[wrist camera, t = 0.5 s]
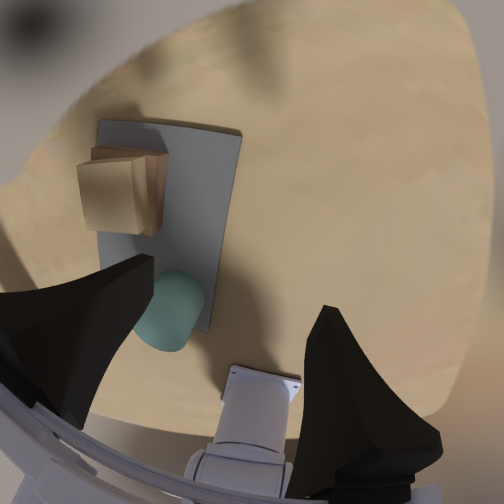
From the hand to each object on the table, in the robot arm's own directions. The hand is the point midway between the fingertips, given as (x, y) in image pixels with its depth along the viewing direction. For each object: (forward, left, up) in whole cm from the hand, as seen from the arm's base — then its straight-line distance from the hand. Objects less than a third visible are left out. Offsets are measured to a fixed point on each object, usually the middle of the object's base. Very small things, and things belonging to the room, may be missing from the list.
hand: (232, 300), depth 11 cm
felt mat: (-4, +9, -10) cm, 14 cm away
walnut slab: (0, +11, -10) cm, 14 cm away
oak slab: (0, +11, -8) cm, 13 cm away
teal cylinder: (-9, +6, -10) cm, 14 cm away
